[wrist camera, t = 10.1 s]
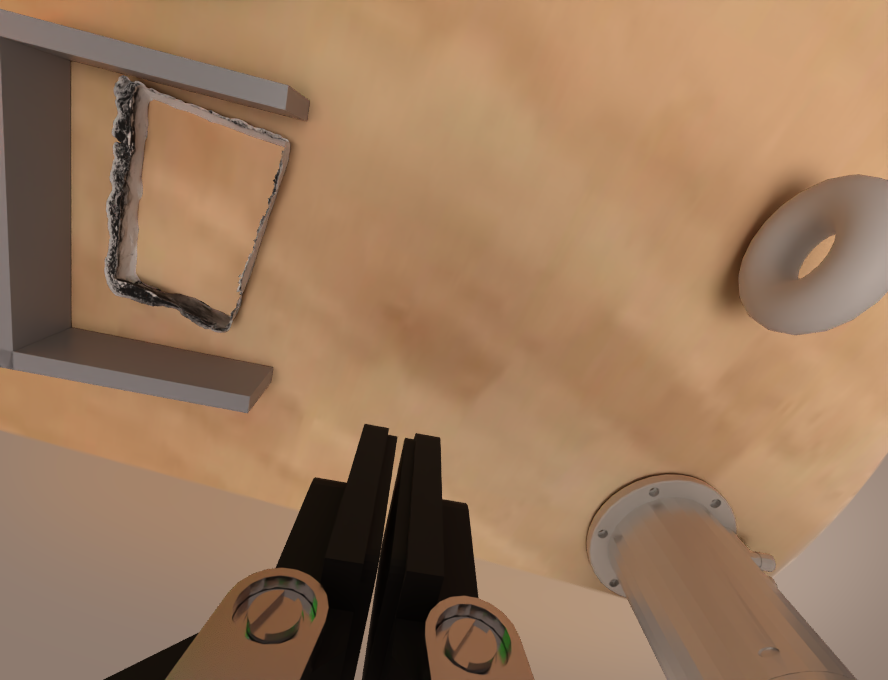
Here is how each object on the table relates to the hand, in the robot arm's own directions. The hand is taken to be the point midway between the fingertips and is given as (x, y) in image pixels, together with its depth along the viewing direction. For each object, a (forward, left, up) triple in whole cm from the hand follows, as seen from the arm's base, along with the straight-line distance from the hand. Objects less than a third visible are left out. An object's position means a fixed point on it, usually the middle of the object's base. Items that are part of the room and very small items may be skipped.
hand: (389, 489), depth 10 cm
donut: (-24, -8, -24) cm, 35 cm away
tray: (+15, 0, -24) cm, 29 cm away
